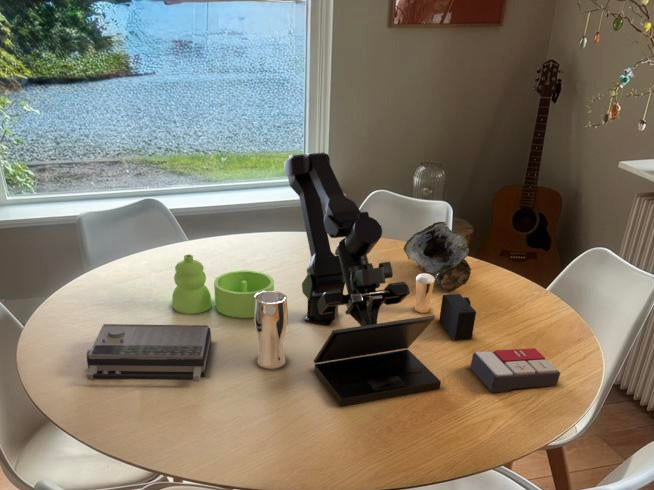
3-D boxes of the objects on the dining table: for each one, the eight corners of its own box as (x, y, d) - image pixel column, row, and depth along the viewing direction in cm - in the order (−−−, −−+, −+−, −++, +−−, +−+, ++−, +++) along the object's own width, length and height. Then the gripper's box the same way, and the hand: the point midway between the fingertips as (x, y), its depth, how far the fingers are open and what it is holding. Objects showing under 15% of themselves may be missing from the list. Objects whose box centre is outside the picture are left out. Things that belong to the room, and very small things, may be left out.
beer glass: (263, 372, 154) (262, 306, 145) (250, 358, 159) (248, 293, 150) (292, 365, 156) (293, 300, 147) (278, 352, 161) (278, 288, 152)
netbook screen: (435, 318, 146) (434, 315, 146) (333, 333, 139) (332, 330, 139) (407, 348, 160) (406, 345, 160) (314, 364, 153) (313, 360, 154)
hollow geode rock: (453, 316, 189) (499, 276, 183) (422, 285, 182) (470, 242, 177) (426, 272, 211) (467, 235, 205) (398, 243, 204) (439, 204, 199)
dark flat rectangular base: (439, 389, 149) (441, 380, 148) (341, 406, 143) (341, 398, 142) (407, 356, 161) (407, 348, 160) (314, 371, 154) (314, 363, 153)
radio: (210, 320, 161) (200, 364, 145) (211, 342, 164) (202, 387, 148) (99, 319, 161) (78, 362, 145) (103, 341, 164) (82, 385, 148)
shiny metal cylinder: (433, 315, 178) (438, 276, 172) (411, 312, 179) (416, 274, 173) (434, 307, 182) (439, 269, 176) (413, 305, 183) (417, 267, 177)
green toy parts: (273, 293, 187) (272, 245, 180) (274, 317, 176) (274, 267, 168) (175, 293, 186) (171, 245, 178) (170, 318, 174) (165, 267, 167)
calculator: (562, 370, 149) (496, 374, 146) (556, 388, 152) (491, 392, 148) (536, 345, 158) (473, 349, 154) (531, 363, 160) (469, 367, 157)
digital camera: (476, 339, 168) (481, 311, 164) (454, 340, 167) (459, 312, 163) (460, 320, 176) (464, 292, 172) (439, 321, 175) (442, 294, 171)
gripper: (324, 253, 140) (343, 329, 139) (410, 243, 146) (430, 316, 144) (309, 277, 151) (326, 348, 149) (390, 267, 156) (408, 335, 155)
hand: (373, 336), depth 149 cm, fingers closed, pressing on netbook screen
